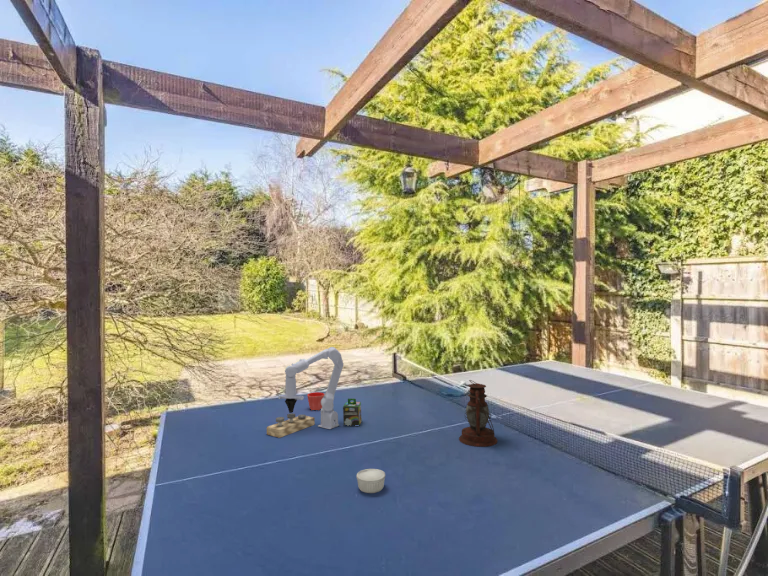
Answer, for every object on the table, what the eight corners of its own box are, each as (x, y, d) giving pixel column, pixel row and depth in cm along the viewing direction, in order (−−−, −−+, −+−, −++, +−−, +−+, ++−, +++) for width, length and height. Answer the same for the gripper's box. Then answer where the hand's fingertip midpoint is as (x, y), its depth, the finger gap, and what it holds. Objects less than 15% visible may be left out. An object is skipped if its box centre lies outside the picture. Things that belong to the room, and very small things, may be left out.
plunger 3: (307, 423, 243) (307, 415, 243) (301, 425, 240) (301, 417, 240) (302, 422, 246) (301, 414, 246) (296, 424, 242) (296, 416, 242)
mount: (302, 421, 250) (302, 414, 250) (314, 424, 244) (314, 417, 244) (266, 434, 228) (266, 426, 229) (279, 437, 223) (279, 430, 223)
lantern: (498, 448, 204) (497, 385, 204) (458, 445, 207) (457, 383, 208) (496, 434, 222) (495, 377, 222) (459, 432, 226) (458, 376, 226)
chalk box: (361, 421, 248) (361, 396, 249) (359, 426, 239) (358, 400, 239) (346, 421, 249) (345, 395, 249) (343, 426, 240) (342, 400, 240)
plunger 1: (286, 426, 230) (285, 417, 230) (279, 429, 227) (279, 419, 227) (280, 425, 233) (280, 416, 233) (274, 427, 229) (274, 418, 229)
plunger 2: (297, 423, 237) (296, 414, 237) (291, 425, 233) (291, 416, 233) (291, 421, 239) (291, 412, 239) (285, 423, 236) (285, 414, 236)
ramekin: (369, 479, 173) (369, 465, 173) (391, 486, 165) (391, 473, 165) (350, 489, 164) (350, 475, 164) (372, 497, 157) (372, 483, 157)
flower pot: (323, 411, 271) (323, 396, 271) (306, 411, 271) (305, 396, 271) (325, 406, 282) (325, 392, 282) (309, 407, 282) (309, 392, 282)
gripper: (306, 386, 238) (306, 411, 238) (282, 385, 242) (283, 409, 242) (300, 389, 231) (300, 414, 231) (276, 388, 235) (276, 413, 235)
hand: (291, 412), depth 236 cm, fingers closed
